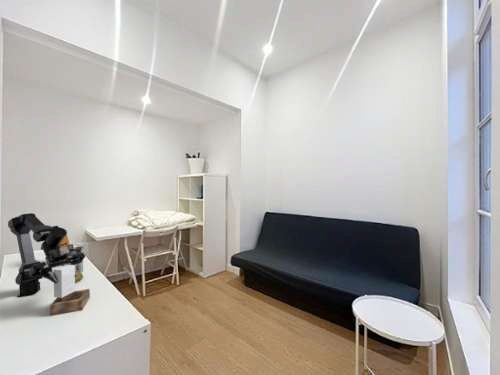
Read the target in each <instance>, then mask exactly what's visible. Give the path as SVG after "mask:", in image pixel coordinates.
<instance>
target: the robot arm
mask: <svg viewBox="0 0 500 375" xmlns="http://www.w3.org/2000/svg"><path fill="white" fill-rule="evenodd" d="M7 226H8V228H9V229H10V232H11V233H12V234H13V235H15V236H16V240H17V245H18V249H19V255H20V260H21V261H20V262H21V265H20V266H19V268H18V273H17V276H16V278H15V279H14V281H15V285H18V286H19V294H18V295H17V298H20V297H21V298H22V297H29V296H34V295H36V294H37V293H38V292H40V290H41V282H40V280H42V279H43V278H44V279H47V280H48V281H50V282H52V283H53V284H54V283H55V284H56V283H57V279H56V277H55V275H54V270H53V268H55V267H61V266H62V265H63V264H67V263H69V264H70V265H75V277H76V271H77V264H79V263H81V262H82V261H83V262H84V259H85V258H86V255H85V253H84V252H83V253H82V252H81V253H77V254H74V255H73V256H72V258H69V259H66V258H67V257H68V254H69V253H71V252H73V251H74V250H75V249H74V247H75V246H74V244H73V243H72V244H70V245H68V246H66V247H63V248H61V247H60V245H59V244H60V243H61V242H62V240H63V239H64V237H65V236H66V234H67V235H68V231H67V230H66V229H65V228H63V227H60V226H59V225H53V226H51V225H47V224H46V225H45V223H43V222H42V221H41V220H40V219H39V218H38V217H37V216H36V214H35V213H34V212H33V213H32V212H31V213H30V212H29V213H22V214H20V215H18V216H15V217H13V218H11V219H9V220H8V222H7ZM30 232H32V238H31V234H30ZM31 239H33V240H34V241H35V242H36V243H41V242H42V243H41V244H40V250H41V251H43V253H44V256H45V258H44V259H45V261H42V262H41V261H40V260H39V261H38V260H36V257H35V253H34V249H33V244H32V243H33V242H32V240H31ZM46 260H48V262H49V264H46Z"/></svg>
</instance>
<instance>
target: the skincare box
mask: <svg viewBox="0 0 500 375" xmlns="http://www.w3.org/2000/svg"><path fill="white" fill-rule="evenodd" d="M53 273H54V275H55V277H56V279H57V283H56V284H55V283H54V282H53V297H54V298H57V297H59V298H63V297H65V296H67V295H68V294H70V293H72V292H74V291H76V283H75V279H76V278H75V265H65V266H62V265H61V266H58V267H57V268H54V269H53Z"/></svg>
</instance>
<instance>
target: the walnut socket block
mask: <svg viewBox="0 0 500 375" xmlns="http://www.w3.org/2000/svg"><path fill="white" fill-rule="evenodd" d="M90 290H91V289H90V288H86V289H81V290H75V291H74V292H72V293H70V294H68V295H67V296H65V297H63V298H59V297H55V299H54V300H53V301H52V303H51V304H49V317H53V316H58V315H64V314H68V313H74V312H75V313H76V312H80V311H83V310H84V308H85V306H86V305H87V303H88V302H89V300H90V299H91V298H90V297H91V296H90Z"/></svg>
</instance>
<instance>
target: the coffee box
mask: <svg viewBox="0 0 500 375" xmlns="http://www.w3.org/2000/svg"><path fill="white" fill-rule="evenodd" d="M74 249H75V250H74V251H73V252H71V253H69V254H68V257H67V258H66V259H69V258H72V256H73V255H74V254H77V253H81V252H82V253H84V246H83V245H82V246H74ZM65 265H70V264H69V263H67V264H63V265H61V267H62V266H65ZM83 272H84V260H83V261H82V262H81V263H79V264H77V271H76V273H81V274H83Z"/></svg>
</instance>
